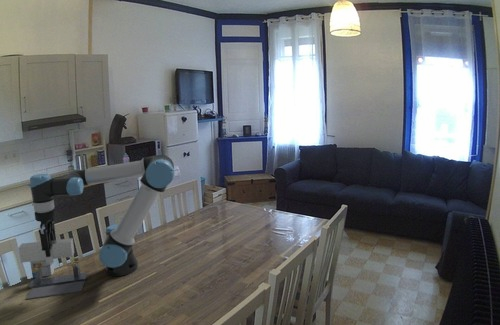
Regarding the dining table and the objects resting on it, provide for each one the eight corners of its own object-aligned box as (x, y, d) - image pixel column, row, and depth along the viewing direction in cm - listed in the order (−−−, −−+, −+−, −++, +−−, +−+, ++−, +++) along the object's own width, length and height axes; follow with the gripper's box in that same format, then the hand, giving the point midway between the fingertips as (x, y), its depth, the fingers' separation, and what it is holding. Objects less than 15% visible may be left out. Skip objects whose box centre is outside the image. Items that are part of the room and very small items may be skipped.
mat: (84, 281, 159) (84, 280, 159) (81, 291, 152) (81, 290, 152) (32, 289, 154) (32, 288, 154) (25, 299, 146) (25, 298, 146)
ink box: (32, 278, 163) (28, 255, 160) (35, 273, 167) (31, 251, 165) (51, 275, 165) (48, 253, 162) (54, 270, 170) (51, 248, 167)
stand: (87, 274, 166) (85, 256, 164) (85, 280, 160) (82, 262, 158) (32, 281, 160) (29, 263, 158) (27, 289, 154) (24, 270, 152)
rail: (74, 252, 153) (72, 238, 152) (72, 256, 150) (70, 241, 148) (24, 258, 148) (22, 243, 147) (20, 262, 144) (18, 247, 143)
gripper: (41, 204, 152) (47, 252, 157) (27, 218, 135) (35, 271, 140) (59, 202, 153) (65, 250, 158) (48, 216, 137) (55, 268, 142)
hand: (51, 260), depth 149 cm, fingers closed on rail, 4 cm apart
